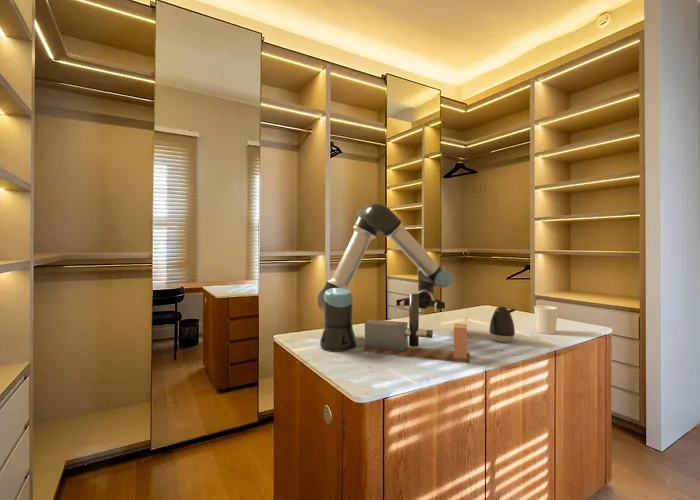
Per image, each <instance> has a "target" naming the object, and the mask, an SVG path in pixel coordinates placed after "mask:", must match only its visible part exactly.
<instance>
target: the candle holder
mask: <svg viewBox="0 0 700 500" xmlns="http://www.w3.org/2000/svg"><path fill="white" fill-rule="evenodd" d="M533 309H534V322H535V323H534V326H535V332H536V333H538V332H539V333H538V334H542V333H544V334H543V335H555V334H556V330H557V321H558V307H556V306H552V305H534V306H533Z"/></svg>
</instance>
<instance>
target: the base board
mask: <svg viewBox="0 0 700 500" xmlns="http://www.w3.org/2000/svg"><path fill="white" fill-rule="evenodd" d="M363 352H364V353H375V354H382V355H383V354H385V355H392V356H393V355H394V356H401V357H402V356H403V357H413V358H423V359H431V360H440V361H441V360H442V361H451V362H458V363H459V362H461V363H469V364H470V363H471V362H470V361H471V360H470V356H471V355H470V351H467V359H465V358H455V357H454V350H449V349H436V348H427V347H419V346H417V347H412V346H408V347H407V349H406V351H405V352H398V351H388V350H378V349H368V348H365V347H364V348H363Z"/></svg>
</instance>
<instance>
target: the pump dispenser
mask: <svg viewBox="0 0 700 500" xmlns="http://www.w3.org/2000/svg"><path fill="white" fill-rule="evenodd" d="M514 312H516V309H515V308H511V309H508V307H506V306H504V305H503V306H501V305H500V306H498V307H496V309H495V310H494V312H493V314H492V316H491V319H490V324H489V333H490V334H489V335H490V337H491V338H492V340H494V341H495V342H498V343H502V342H507V343H510V342H511V341H513V339H514V337H515V334H516V330H515V324H514V319H513V316H512V314H511V313H514Z"/></svg>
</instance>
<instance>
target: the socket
mask: <svg viewBox="0 0 700 500" xmlns="http://www.w3.org/2000/svg"><path fill="white" fill-rule="evenodd" d="M467 348H468V324H467V323H456V322H455V323H454V324H453V351H454V357H455V358H465V359H467V352H468V350H467Z"/></svg>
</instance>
